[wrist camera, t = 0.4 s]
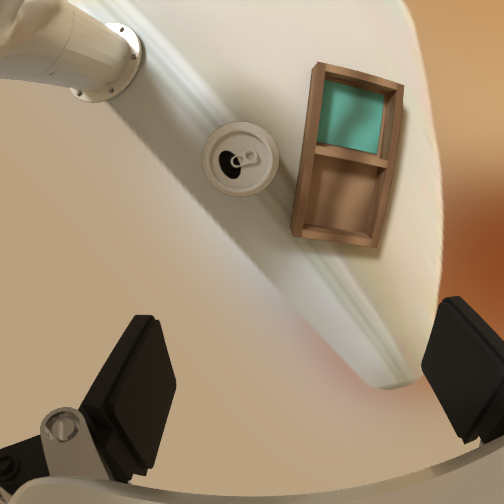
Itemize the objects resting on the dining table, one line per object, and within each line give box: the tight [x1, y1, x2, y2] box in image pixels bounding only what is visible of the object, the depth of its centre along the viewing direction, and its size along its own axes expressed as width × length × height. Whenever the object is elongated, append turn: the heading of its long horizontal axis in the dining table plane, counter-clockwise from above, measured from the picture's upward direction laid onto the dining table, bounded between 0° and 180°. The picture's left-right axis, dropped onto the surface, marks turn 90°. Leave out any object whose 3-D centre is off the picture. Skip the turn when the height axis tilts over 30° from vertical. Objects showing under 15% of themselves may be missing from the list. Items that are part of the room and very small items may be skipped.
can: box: [202, 122, 279, 197], centre depth 32 cm, size 8×8×12 cm
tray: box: [290, 62, 404, 248], centre depth 35 cm, size 12×22×4 cm, turn 173°
